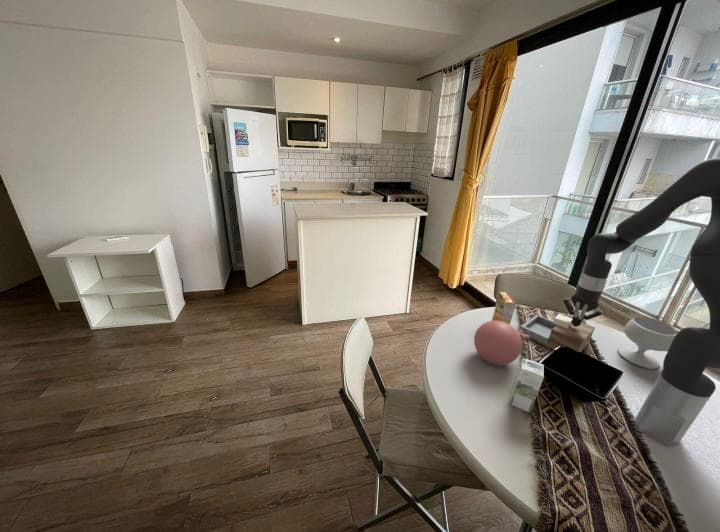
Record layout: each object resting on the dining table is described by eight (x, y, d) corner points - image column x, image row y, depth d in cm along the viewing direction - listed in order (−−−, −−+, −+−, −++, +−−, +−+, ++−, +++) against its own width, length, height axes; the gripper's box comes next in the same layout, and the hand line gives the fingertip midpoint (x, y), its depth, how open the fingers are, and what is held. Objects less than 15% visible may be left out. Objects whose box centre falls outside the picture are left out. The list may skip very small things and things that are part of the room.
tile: (567, 328, 113) (569, 323, 112) (553, 323, 116) (554, 317, 115) (571, 324, 116) (573, 318, 115) (557, 319, 119) (558, 313, 119)
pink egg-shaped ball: (537, 373, 101) (550, 337, 95) (482, 375, 99) (492, 338, 93) (512, 345, 115) (522, 312, 109) (463, 346, 113) (471, 312, 107)
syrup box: (530, 400, 90) (544, 363, 84) (530, 414, 85) (544, 376, 79) (510, 392, 92) (522, 356, 87) (508, 405, 87) (521, 367, 82)
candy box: (490, 322, 130) (498, 291, 124) (500, 322, 130) (508, 292, 124) (497, 333, 122) (506, 301, 116) (507, 334, 121) (517, 302, 116)
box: (545, 345, 115) (548, 338, 114) (519, 333, 123) (521, 326, 121) (560, 332, 125) (562, 325, 124) (534, 320, 132) (537, 314, 131)
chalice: (671, 375, 103) (692, 341, 97) (624, 365, 106) (641, 331, 101) (649, 351, 115) (666, 319, 109) (607, 343, 119) (622, 312, 113)
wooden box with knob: (574, 359, 108) (582, 342, 105) (545, 346, 115) (551, 329, 112) (588, 344, 118) (595, 327, 115) (560, 332, 125) (566, 316, 122)
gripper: (566, 281, 109) (552, 320, 116) (609, 295, 100) (592, 337, 106) (573, 277, 113) (559, 314, 120) (615, 290, 104) (598, 330, 111)
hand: (575, 325), depth 113 cm, fingers closed
